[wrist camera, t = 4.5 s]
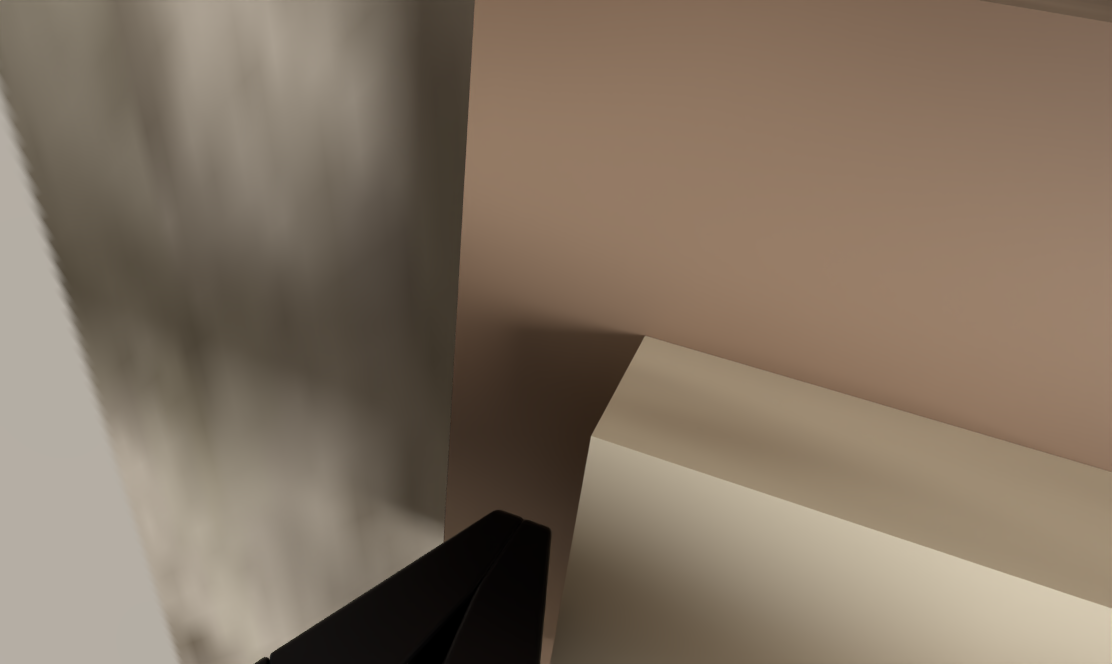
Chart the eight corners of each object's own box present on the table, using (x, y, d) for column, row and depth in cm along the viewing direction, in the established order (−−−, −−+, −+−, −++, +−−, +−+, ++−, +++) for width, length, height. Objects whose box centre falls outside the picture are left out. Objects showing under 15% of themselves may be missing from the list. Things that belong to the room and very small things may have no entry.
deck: (891, 702, 14) (894, 869, 12) (504, 550, 16) (436, 667, 14) (1314, 30, 8) (1518, 90, 5) (581, -88, 10) (479, -84, 7)
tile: (906, 785, 11) (911, 944, 9) (578, 651, 12) (530, 771, 10) (1126, 475, 7) (1196, 636, 6) (644, 335, 9) (591, 436, 7)
